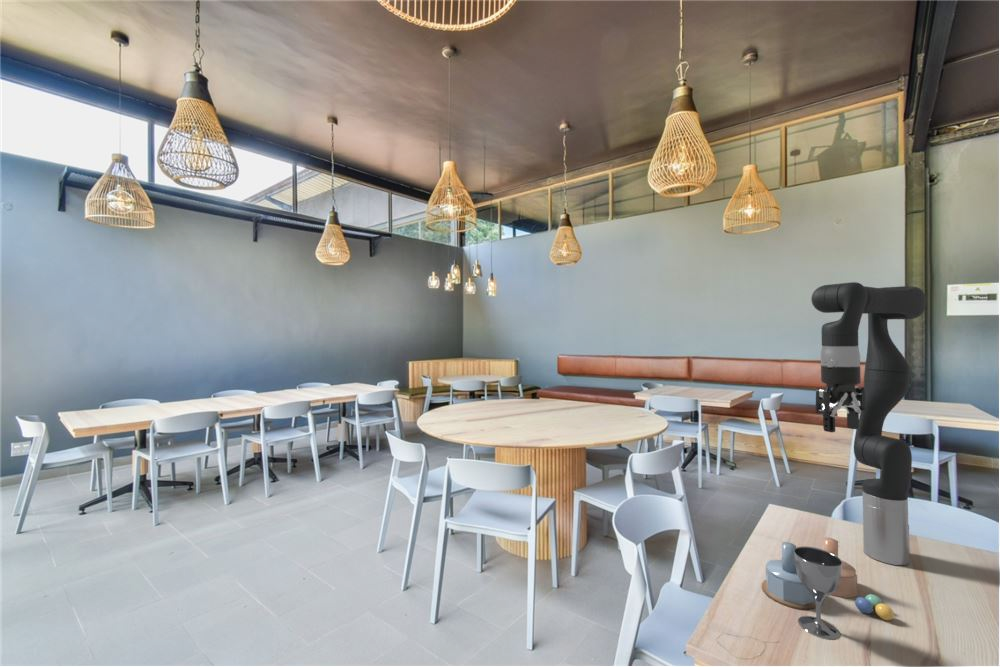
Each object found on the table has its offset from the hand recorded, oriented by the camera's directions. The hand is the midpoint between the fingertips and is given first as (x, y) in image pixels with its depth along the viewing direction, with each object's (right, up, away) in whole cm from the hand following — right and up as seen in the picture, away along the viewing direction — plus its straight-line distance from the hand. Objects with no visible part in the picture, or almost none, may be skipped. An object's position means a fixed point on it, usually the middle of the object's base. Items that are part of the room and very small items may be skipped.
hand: (841, 430), depth 102 cm
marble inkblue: (-3, -38, -10) cm, 40 cm away
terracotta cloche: (-3, -38, 0) cm, 38 cm away
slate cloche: (-15, -38, -4) cm, 41 cm away
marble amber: (-1, -38, -12) cm, 40 cm away
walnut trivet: (-15, -38, -4) cm, 41 cm away
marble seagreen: (0, -38, -9) cm, 39 cm away
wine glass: (-17, -38, -15) cm, 44 cm away
